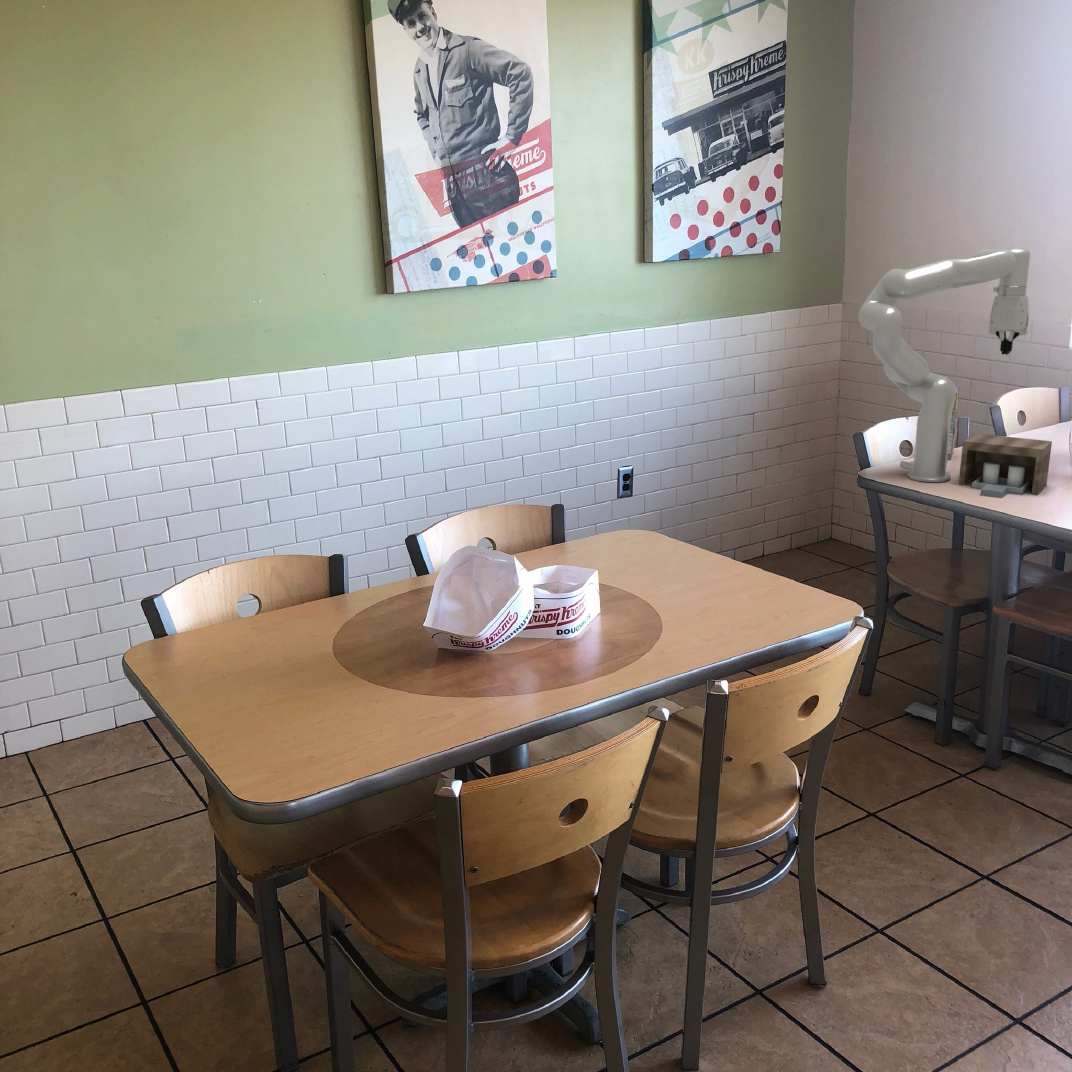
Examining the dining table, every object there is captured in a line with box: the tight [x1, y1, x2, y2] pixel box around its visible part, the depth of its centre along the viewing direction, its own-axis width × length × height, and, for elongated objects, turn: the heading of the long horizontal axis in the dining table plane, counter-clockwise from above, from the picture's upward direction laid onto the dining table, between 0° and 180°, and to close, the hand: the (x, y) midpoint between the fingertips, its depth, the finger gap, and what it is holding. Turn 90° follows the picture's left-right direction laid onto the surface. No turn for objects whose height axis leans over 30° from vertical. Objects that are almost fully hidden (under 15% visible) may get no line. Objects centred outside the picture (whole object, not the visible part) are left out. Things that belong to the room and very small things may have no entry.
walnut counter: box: [958, 432, 1053, 496], centre depth 314 cm, size 22×12×14 cm, turn 54°
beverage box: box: [947, 387, 960, 461], centre depth 349 cm, size 7×11×22 cm, turn 156°
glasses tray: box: [971, 462, 1031, 499], centre depth 310 cm, size 14×16×7 cm
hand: (1005, 353), depth 318 cm, fingers closed
